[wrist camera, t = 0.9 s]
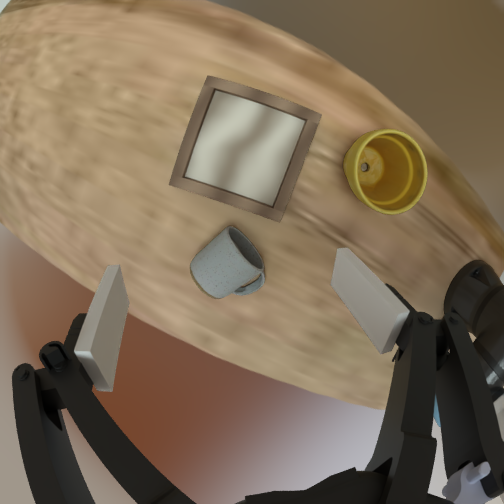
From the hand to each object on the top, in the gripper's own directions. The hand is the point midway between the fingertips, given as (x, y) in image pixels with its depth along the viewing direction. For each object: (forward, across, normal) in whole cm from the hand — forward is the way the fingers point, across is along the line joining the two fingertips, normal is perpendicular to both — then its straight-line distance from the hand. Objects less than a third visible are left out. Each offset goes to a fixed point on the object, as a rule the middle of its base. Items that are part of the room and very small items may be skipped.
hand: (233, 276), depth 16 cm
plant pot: (+21, -22, -3) cm, 31 cm away
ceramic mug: (+23, -4, +12) cm, 26 cm away
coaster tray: (+24, -5, -5) cm, 25 cm away
